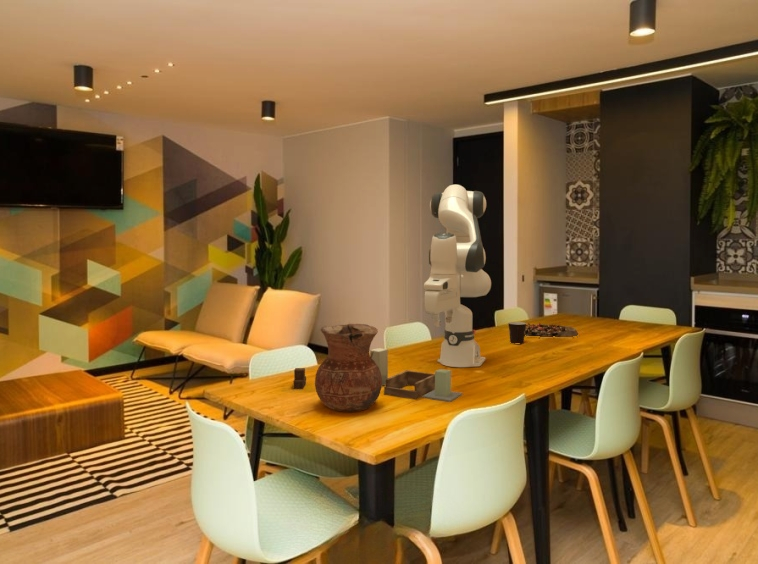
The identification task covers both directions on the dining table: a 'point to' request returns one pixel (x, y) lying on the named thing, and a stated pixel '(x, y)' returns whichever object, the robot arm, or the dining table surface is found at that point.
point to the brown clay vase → (348, 369)
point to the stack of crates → (299, 378)
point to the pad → (442, 398)
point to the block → (443, 382)
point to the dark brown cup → (517, 332)
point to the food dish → (550, 331)
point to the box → (381, 362)
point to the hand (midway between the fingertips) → (443, 324)
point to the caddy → (418, 379)
